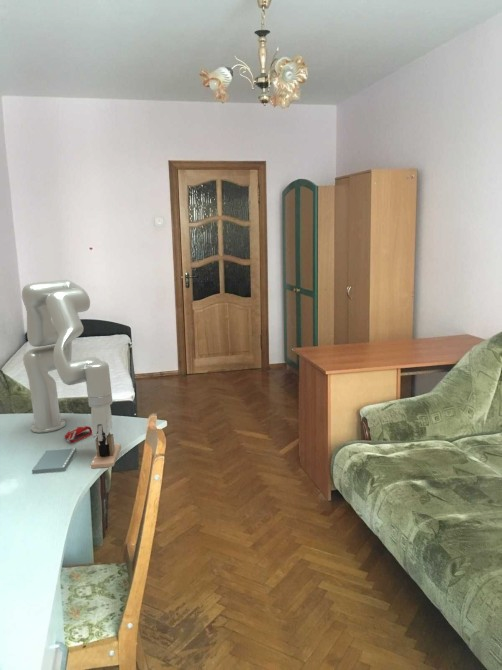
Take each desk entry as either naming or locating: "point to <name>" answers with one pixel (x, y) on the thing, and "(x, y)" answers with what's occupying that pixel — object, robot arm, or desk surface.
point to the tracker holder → (76, 431)
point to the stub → (106, 460)
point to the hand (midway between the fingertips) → (106, 452)
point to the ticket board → (54, 461)
